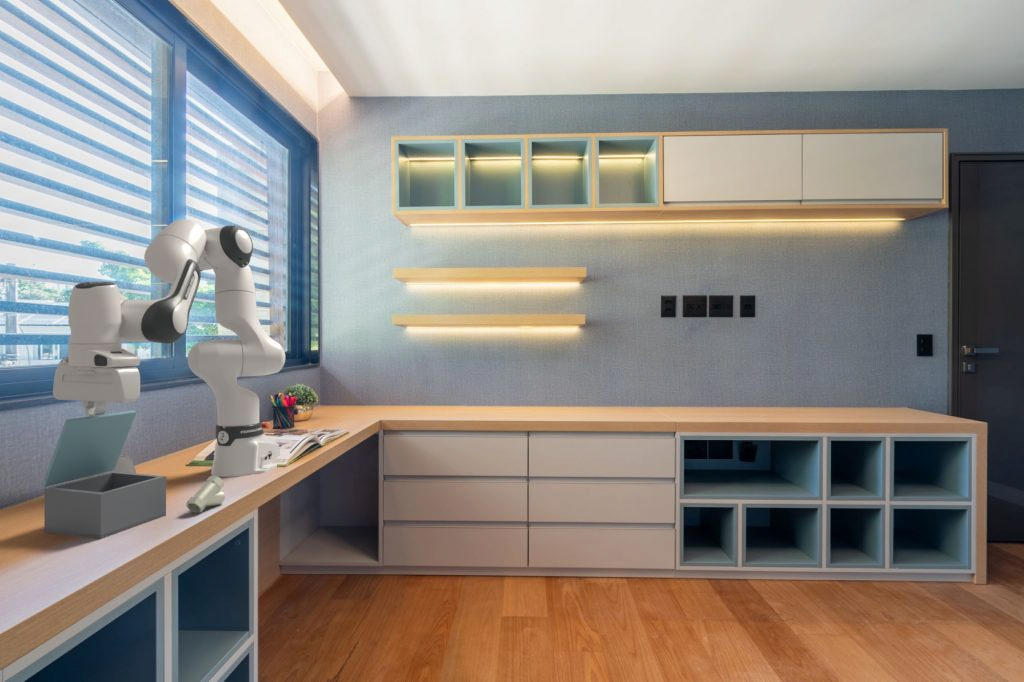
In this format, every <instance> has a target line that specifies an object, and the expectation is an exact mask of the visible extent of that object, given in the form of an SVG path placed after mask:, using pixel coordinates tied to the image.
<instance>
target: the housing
mask: <svg viewBox="0 0 1024 682" xmlns="http://www.w3.org/2000/svg"><path fill="white" fill-rule="evenodd" d="M43 503H44V505H43V506H44V515H43V516H44V519H43V520H44V522H43V523H44V526H43V528H44V533H48V534H55V535H64V536H73V537H79V538H80V537H82V538H88V539H96V540H103V539H106V538H109V537H111V536H113V535H116V534H119V533H122V532H124V531H127V530H130V529H133V528H137V527H138V526H142V525H143V524H147V523H149V522H152V521H155V520H158V519H160V518H163V517H166V516H167V476H166V475H159V474H157V475H155V474H147V473H146V474H145V473H137V472H136V473H125V472H110V473H106V474H102V475H95V476H93V477H89V478H85V479H81V480H77V481H76V480H72V481H68V482H64V483H60V484H55V485H51V486H47V487H44V502H43Z"/></svg>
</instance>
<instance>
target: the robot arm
mask: <svg viewBox="0 0 1024 682" xmlns="http://www.w3.org/2000/svg"><path fill="white" fill-rule="evenodd" d="M253 245H254V244H253V240H252V238H251V235H250V234H249V233H248V232H247V231H246V229H244V228H243V227H242V226H239V225H224V226H223V227H222V226H221V227H213V228H208V229H205V230H204V228H203V227H202V226H201V225H200V224H198V223H197V222H196V221H193V220H191V219H184V218H183V219H182V218H180V219H177V220H174V221H173V222H171V223H169V224H168V225H166V226H165V227H164V228H163V229H162V230H161V231H160V232H159V233H158V234H157V235H156V236H155V237H154V239H153V240H152V241H151V242H150V243H149V245H148V246H147V248H146V250H145V252H144V254H143V255H144V257H143V258H144V259H143V260H144V263H145V266H146V267H147V269H148V271H150V273H151V274H152V275H153V276H154V277H155V278H157V279H159V280H160V281H163V282H165V283H168V284H171V286H170V288H169V291H168V293H167V296H164V297H161V298H157V299H149V300H148V299H130V298H129V297H126V296H125V295H123V294H122V293H121V292H120V290H119V287H118V284H117V283H115V282H111V281H85V282H79V283H77V284H75V285H73V287H72V289H71V292H70V296H69V303H68V313H67V314H68V318H67V319H68V326H69V328H70V329H69V330H70V337H69V339H68V345H67V346H68V347H67V348H68V352H67V353H68V355H67V356H64V357H63V358H62V359H61V360H60V361H59V362H58V366H57V368H56V370H55V371H54V378H53V386H52V387H53V389H52V395H53V396H54V399H56V400H58V401H59V400H61V401H76V402H77V401H79V402H80V401H81V402H82V408H83V410H84V412H85V413H86V417H89V416H97V415H104V414H105V413H106V411H107V409H108V407H109V405H110V404H109V403H113V404H127V403H135V402H136V401H138V399H139V398H140V395H141V375H140V374H141V373H140V370H139V368H138V366H140V365H141V358H140V356H139V355H136V354H135V353H133V352H131V351H128V350H127V349H124V348H122V346H123V345H122V342H131V343H137V342H139V343H140V342H142V343H143V342H145V343H156V344H157V343H158V344H159V343H160V344H174V343H176V342H177V341H179V340H180V339H181V338H182V337H183V336H184V335H185V333H186V332H187V329H188V326H189V320H190V319H189V317H190V312H191V309H192V306H193V304H194V300H195V298H196V295H197V293H198V289H199V286H200V282H201V278H202V272H203V271H208V270H213V272H214V275H215V277H214V278H215V280H214V308H215V320H216V321H217V323H218V324H219V325H220V326H222V327H223V328H225V329H227V330H229V331H232V332H233V333H234V334H236V336H237V337H238V339H211V340H205V341H199V342H196V343H194V344H193V346H192V347H190V350H189V351H188V354H187V364H188V367H189V369H190V371H191V372H192V373H193V374H194V375H195V376H196V377H198V378H200V379H201V380H203V381H204V382H205V384H207V385H208V386H209V387H210V389H211V391H212V393H213V395H214V398H215V405H216V415H217V423H216V425H215V429H214V432H215V439H216V442H215V446H214V455H213V463H212V465H211V468H210V470H211V472H210V476H218V477H219V478H223V477H224V478H231V477H232V478H233V477H243V476H250V475H259V474H265V473H269V472H270V471H272V470H274V469H277V468H278V467H277V464H272V462H273V461H274V460H275V459H276V458H277V457H278V456H280V457H281V448H280V445H279V444H278V443H277V442H276V441H274V440H273V439H271V438H270V437H269V436H267V434H265V430H268V429H269V428H270V427H271V426H270V425H271V423H270V422H268V421H267V422H265V421H263V422H260V397H259V395H257V393H255V392H254V391H252V390H250V389H248V388H246V387H243V386H240V385H239V383H238V378H241V377H242V378H243V377H264V376H268V375H273V374H277V373H279V372H280V371H281V370H282V369H283V368H284V366H285V363H286V353H285V349H284V348H283V345H281V344H280V343H279V342H277V341H276V340H274V339H273V338H272V337H271V336H269V334H268V333H267V332H266V331H265V330H264V328H263V327H262V324H261V322H260V319H259V315H258V313H259V312H258V308H257V296H256V295H257V294H256V285H255V281H254V275H253V272H252V269H251V267H250V265H249V264H250V261H251V258H252V255H253V252H254V251H253V250H254V249H253V248H254V246H253ZM264 429H265V430H264ZM276 467H277V468H276Z"/></svg>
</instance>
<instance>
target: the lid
mask: <svg viewBox="0 0 1024 682" xmlns="http://www.w3.org/2000/svg"><path fill="white" fill-rule="evenodd" d="M136 414H137V411H136V410H128V411H127V410H126V411H120V412H113V413H107V414H105V413H104V415H97V416H89V417H87V416H84V417H76V418H75V417H74V418H68V419H65V421H64V425H63V427H62V429H61V430H62V431H61V433H60V436H59V438H58V440H57V443H56V446H55V449H54V451H53V455H52V457H51V460H50V462H49V465H48V467H47V470H46V473H45V476H44V477H43V481H42V484H41V485H42V487H44V488H47V487H51V486H56V485H60V484H64V483H68V482H72V481H76V479H79V478H84V477H88V476H92V475H95V476H97V475H96V474H100V473H104V472H108V471H113V470H114V469H115V466H116V463H117V461H118V458H119V456H120V454H122V452H123V451H122V450H123V448H124V445H125V442H126V440H127V437H128V435H129V433H130V430H131V428H132V425H133V421H134V419H135V417H136Z"/></svg>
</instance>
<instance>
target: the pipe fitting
mask: <svg viewBox="0 0 1024 682" xmlns="http://www.w3.org/2000/svg"><path fill="white" fill-rule="evenodd" d="M224 484H225V481H224V480H223V479H222V477H219V476H213V475H210V476H209V477H208V478H207V479H206V481H205V483H204V484H203V485H202V486H201V487H200V489H198V490H197V492H195V494H194V495H193V496H191V497H189V499H188V500H187V501H186V508H187V509H188V510H189V511H190V512H192V513H195V514H200V513H202V512H203V511H204V510H205V508H206V507H216V506H217V507H218V506H221V505H222V504H223V503H224V502H225V499H226V495H225V493H224V491H221V490H222V489H223V487H224Z"/></svg>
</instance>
